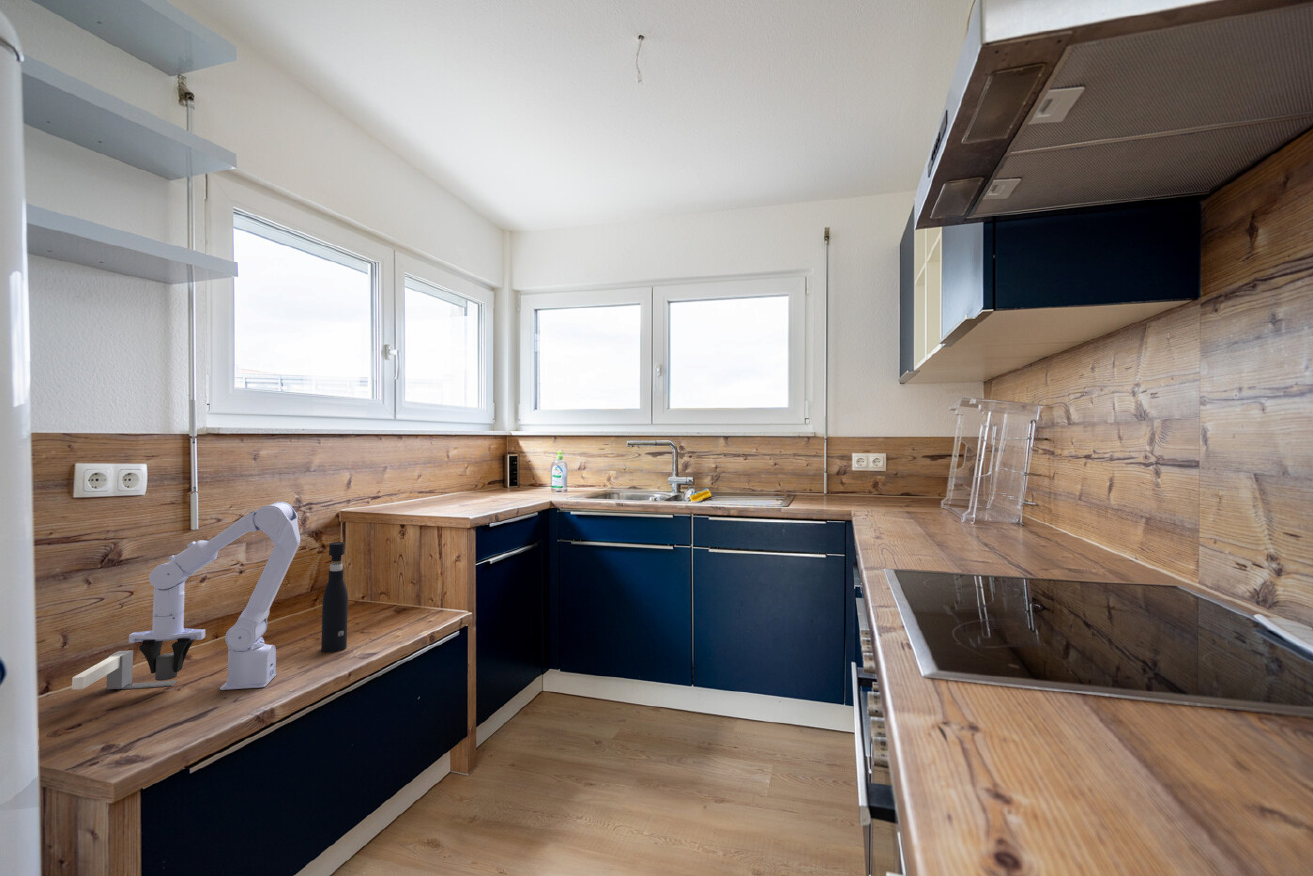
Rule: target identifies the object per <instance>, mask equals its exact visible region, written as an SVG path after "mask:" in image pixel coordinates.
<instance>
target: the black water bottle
mask: <svg viewBox="0 0 1313 876" xmlns="http://www.w3.org/2000/svg"><path fill="white" fill-rule="evenodd" d="M344 555H345V542H341V541H335V542H330V543H329V544H328V556H331V561H330V562H331V563H330V565H329V570H328V577H327V579H328V580H327V583H326V585H325V589H324V592H323V596H322V605H321V607H322V608H321V609H322V611H321V639H320V640H321V645H320V648H321V649H320V650H321V652H322V653H337V652H342V651H343V650H346V649H347V647H348V645H347V643H348V617H349V616H348V615H349V613H348V612H349V611H348V608H349V605H348V604H349V596H348V590H347V589H348V588H347V586H346V583H345V581H344V571H345V570H344V569H343V568H344V567H343V563H342V562H343V560H342V557H343V556H344Z"/></svg>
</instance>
